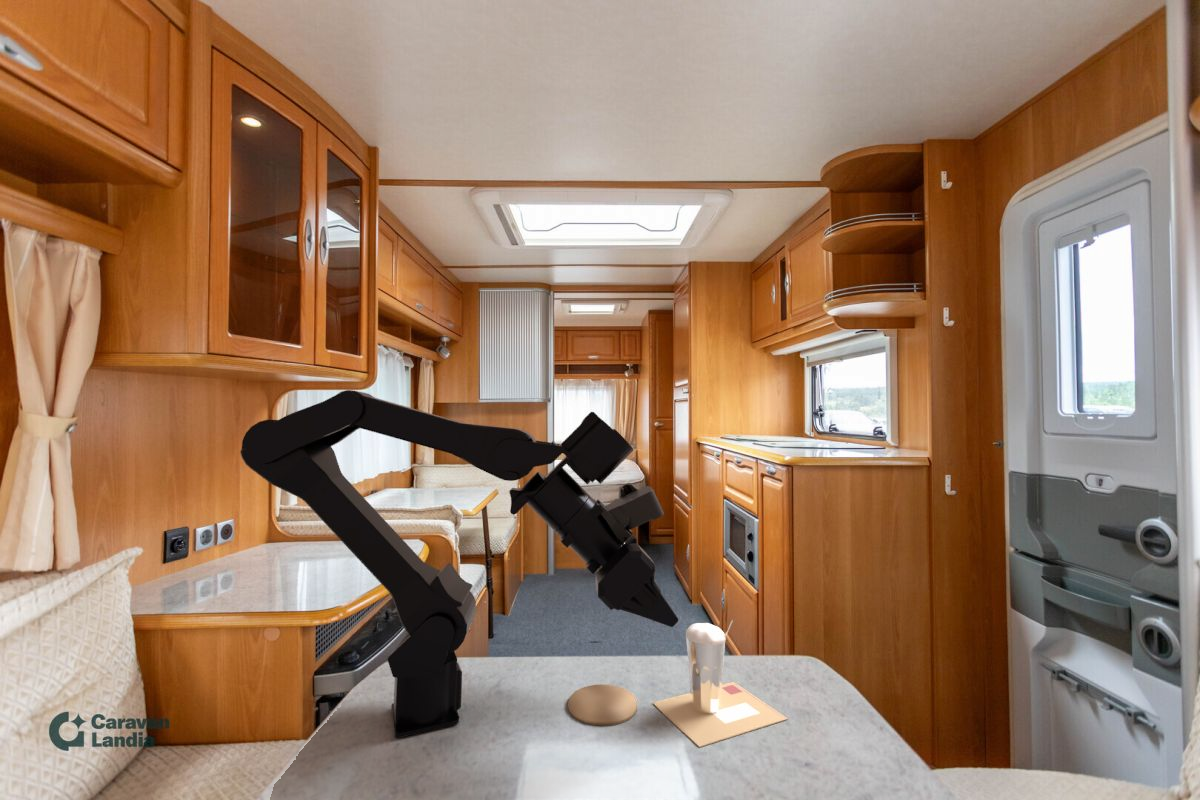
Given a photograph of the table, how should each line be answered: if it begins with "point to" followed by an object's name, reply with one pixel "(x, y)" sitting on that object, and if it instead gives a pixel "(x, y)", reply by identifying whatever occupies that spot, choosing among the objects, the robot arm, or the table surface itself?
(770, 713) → the envelope
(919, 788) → the table surface
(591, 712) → the coaster
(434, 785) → the table surface
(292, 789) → the table surface
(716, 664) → the milkshake
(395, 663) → the robot arm
